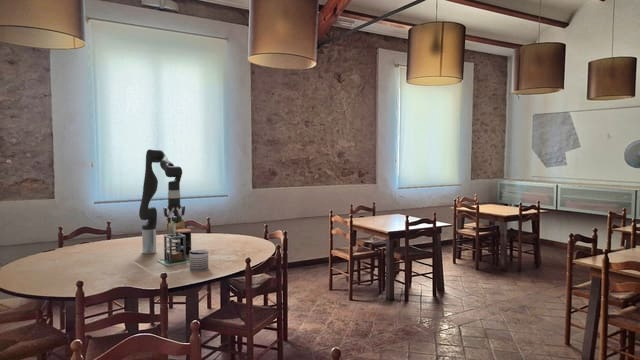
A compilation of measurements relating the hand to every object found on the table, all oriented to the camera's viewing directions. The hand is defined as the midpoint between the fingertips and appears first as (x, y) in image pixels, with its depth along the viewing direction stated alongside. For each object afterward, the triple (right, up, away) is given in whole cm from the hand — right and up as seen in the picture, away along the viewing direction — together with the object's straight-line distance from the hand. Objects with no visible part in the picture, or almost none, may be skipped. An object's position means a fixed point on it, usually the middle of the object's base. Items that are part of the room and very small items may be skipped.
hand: (174, 222), depth 283 cm
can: (+20, -28, -13) cm, 37 cm away
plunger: (0, -13, +1) cm, 13 cm away
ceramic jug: (-22, -22, +73) cm, 79 cm away
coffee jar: (-1, -25, +22) cm, 34 cm away
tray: (0, -27, +2) cm, 27 cm away
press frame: (0, -26, +2) cm, 26 cm away
